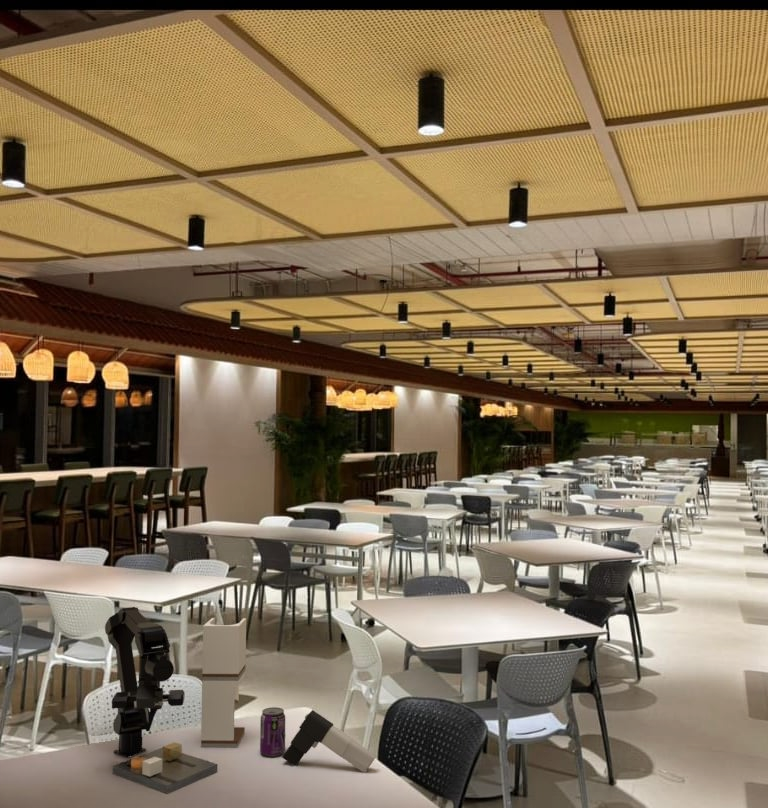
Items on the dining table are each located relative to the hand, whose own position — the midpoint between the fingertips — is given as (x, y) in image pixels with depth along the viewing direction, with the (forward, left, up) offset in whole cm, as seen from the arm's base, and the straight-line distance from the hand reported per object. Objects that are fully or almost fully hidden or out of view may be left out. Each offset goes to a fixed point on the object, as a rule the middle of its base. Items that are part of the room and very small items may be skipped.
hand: (148, 730), depth 217 cm
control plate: (+7, +1, -10) cm, 12 cm away
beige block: (+9, -5, -8) cm, 13 cm away
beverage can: (+21, +28, -10) cm, 36 cm away
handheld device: (+40, +29, -10) cm, 51 cm away
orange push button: (+1, -3, -10) cm, 10 cm away
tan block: (+5, +5, -8) cm, 10 cm away
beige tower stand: (+2, +27, -10) cm, 28 cm away
